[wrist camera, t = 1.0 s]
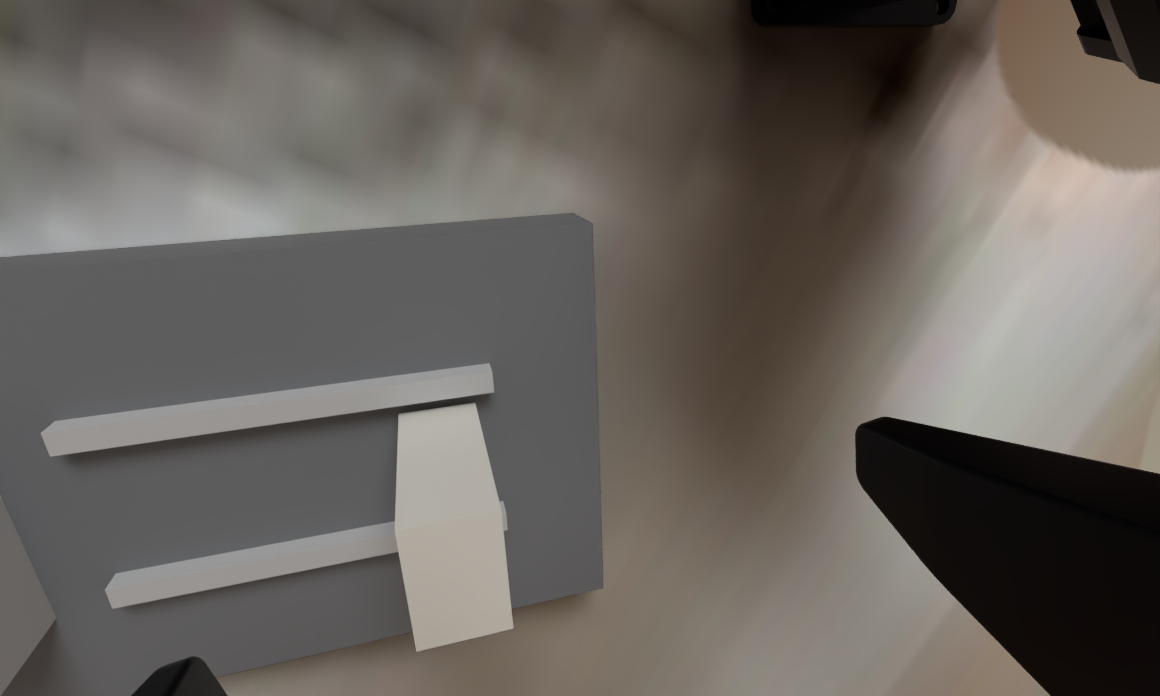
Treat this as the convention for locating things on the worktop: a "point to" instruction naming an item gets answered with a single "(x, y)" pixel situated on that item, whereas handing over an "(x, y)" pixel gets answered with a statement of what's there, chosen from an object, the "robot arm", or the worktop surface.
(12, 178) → the worktop surface
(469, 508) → the slider paddle
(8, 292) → the panel
